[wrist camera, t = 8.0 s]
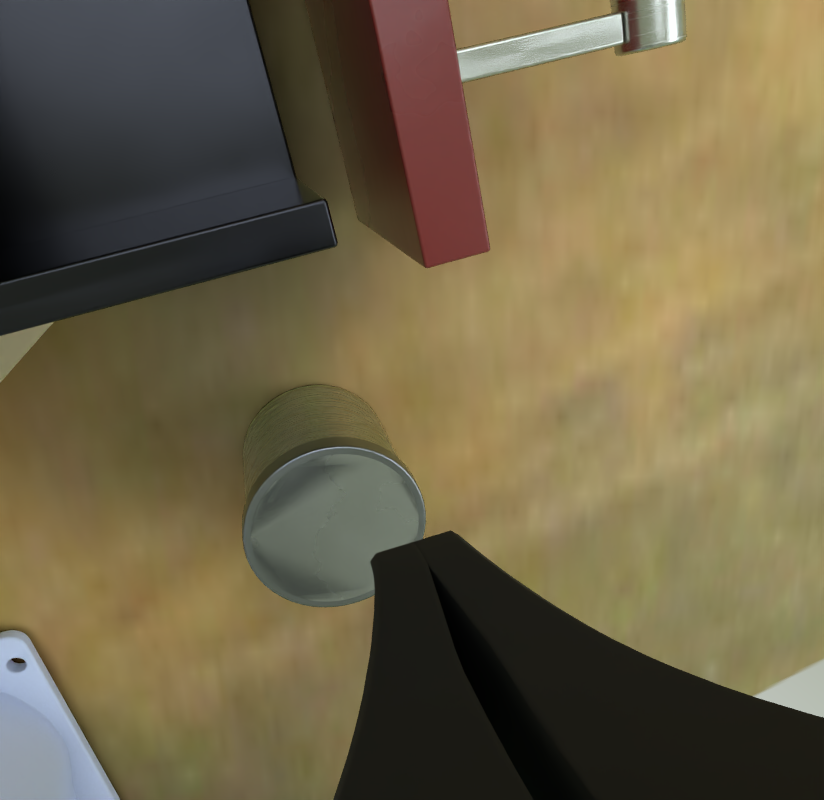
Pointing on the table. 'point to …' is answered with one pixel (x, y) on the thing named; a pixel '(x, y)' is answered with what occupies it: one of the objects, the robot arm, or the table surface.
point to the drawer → (239, 139)
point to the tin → (324, 496)
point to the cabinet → (18, 346)
